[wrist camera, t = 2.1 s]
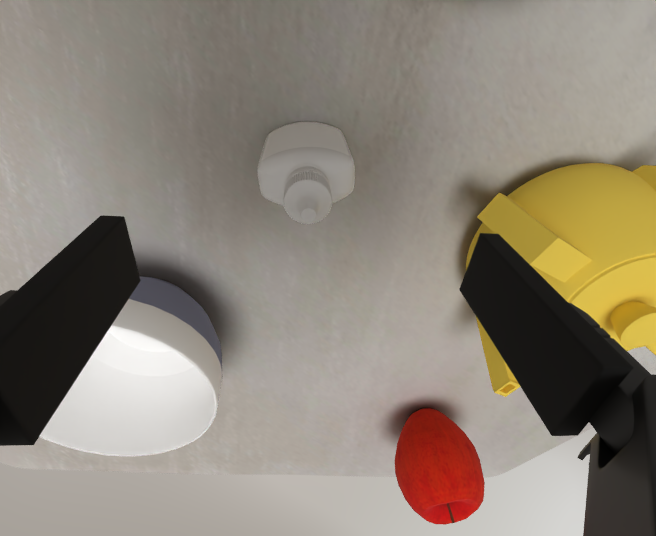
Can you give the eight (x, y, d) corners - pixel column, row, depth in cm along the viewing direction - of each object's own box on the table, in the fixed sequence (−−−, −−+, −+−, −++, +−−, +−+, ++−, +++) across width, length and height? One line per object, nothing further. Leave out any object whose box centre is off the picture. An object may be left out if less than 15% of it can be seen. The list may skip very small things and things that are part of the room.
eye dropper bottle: (281, 97, 24) (268, 143, 14) (352, 135, 26) (385, 199, 16) (259, 155, 26) (233, 230, 16) (326, 186, 28) (340, 271, 18)
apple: (377, 402, 44) (399, 512, 34) (454, 384, 43) (501, 491, 33) (391, 442, 50) (414, 547, 40) (460, 427, 49) (502, 530, 39)
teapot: (608, 294, 36) (724, 392, 26) (449, 323, 37) (502, 428, 27) (666, 128, 27) (878, 183, 17) (451, 171, 28) (534, 248, 18)
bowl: (57, 219, 28) (-39, 294, 20) (253, 271, 32) (238, 350, 24) (63, 352, 36) (-4, 443, 28) (219, 380, 40) (199, 466, 32)
